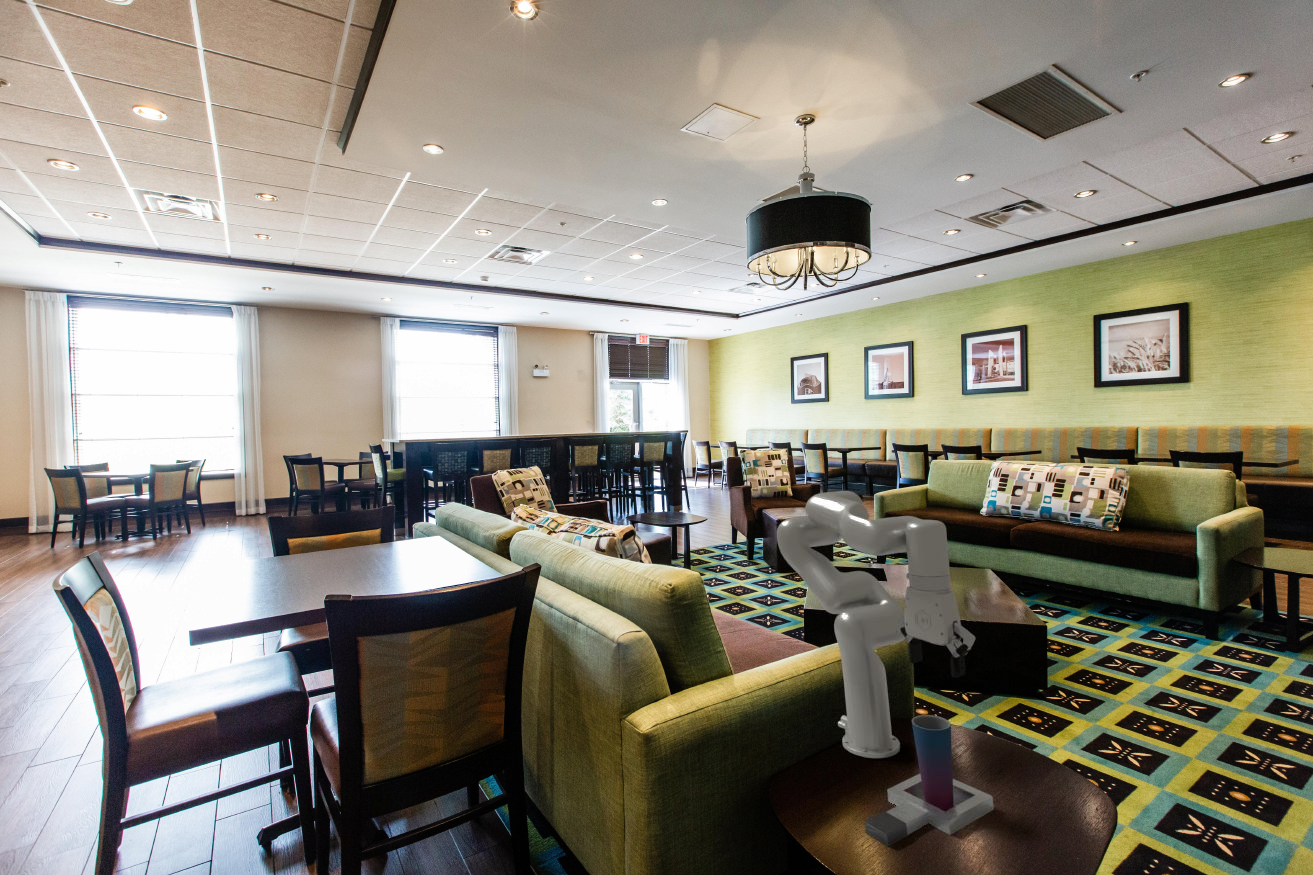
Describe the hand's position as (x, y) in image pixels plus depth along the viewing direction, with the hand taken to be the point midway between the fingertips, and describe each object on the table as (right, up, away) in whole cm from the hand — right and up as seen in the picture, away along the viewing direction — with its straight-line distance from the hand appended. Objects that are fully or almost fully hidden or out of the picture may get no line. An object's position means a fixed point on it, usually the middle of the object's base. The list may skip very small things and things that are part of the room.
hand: (936, 668), depth 118 cm
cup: (-2, -24, -6) cm, 24 cm away
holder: (-7, -24, -8) cm, 26 cm away
